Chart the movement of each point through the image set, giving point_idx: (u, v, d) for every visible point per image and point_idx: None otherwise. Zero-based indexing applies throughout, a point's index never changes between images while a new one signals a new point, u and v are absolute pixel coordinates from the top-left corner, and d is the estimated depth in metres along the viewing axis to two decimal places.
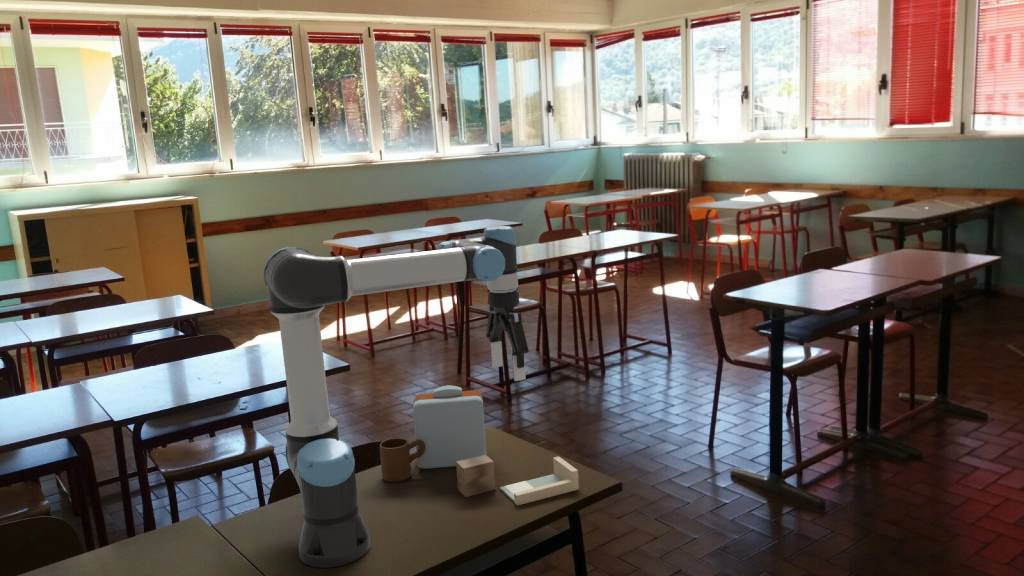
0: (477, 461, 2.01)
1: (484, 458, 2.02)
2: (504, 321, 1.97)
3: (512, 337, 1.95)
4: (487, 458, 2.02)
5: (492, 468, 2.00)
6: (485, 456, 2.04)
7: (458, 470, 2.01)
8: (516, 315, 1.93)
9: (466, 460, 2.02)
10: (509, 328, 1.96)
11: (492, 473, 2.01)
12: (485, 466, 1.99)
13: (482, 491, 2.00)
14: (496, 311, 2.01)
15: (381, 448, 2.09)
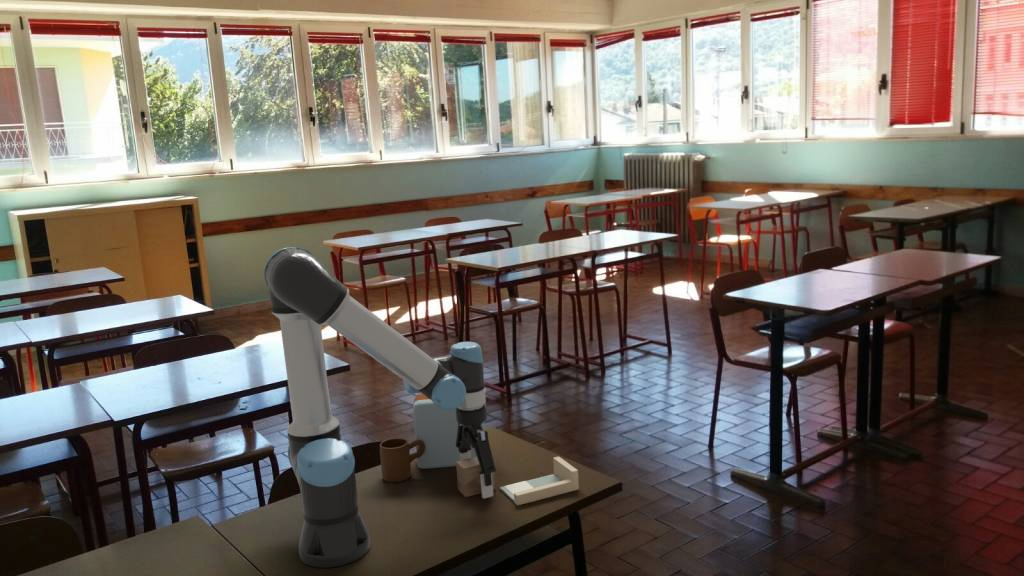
0: (477, 461, 2.01)
1: None
2: (471, 438, 1.96)
3: (479, 455, 1.95)
4: None
5: None
6: None
7: (458, 470, 2.01)
8: (483, 434, 1.93)
9: (466, 460, 2.02)
10: (476, 445, 1.96)
11: (492, 473, 2.01)
12: None
13: None
14: (464, 425, 2.01)
15: (381, 448, 2.09)
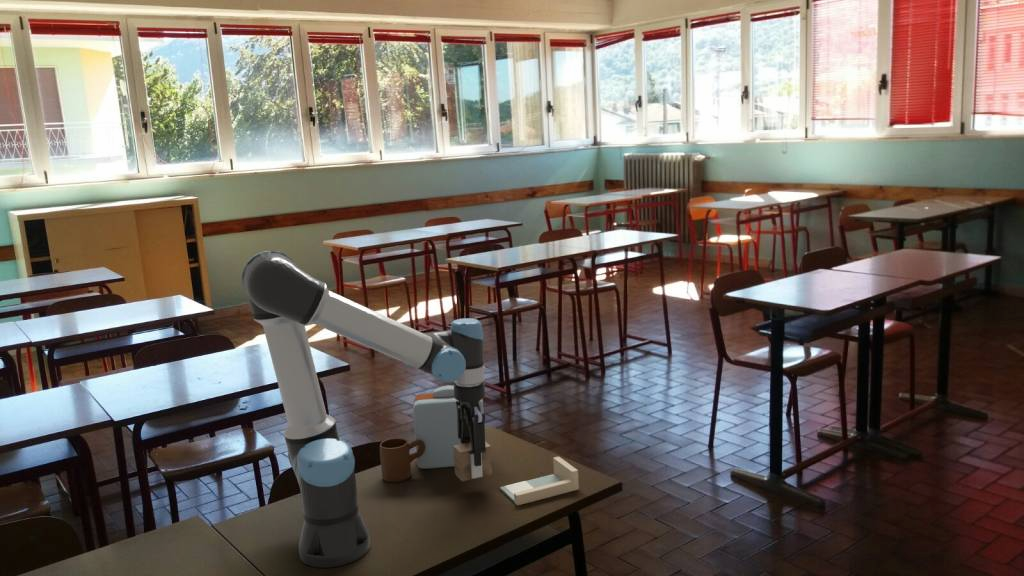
0: None
1: None
2: (468, 416, 1.96)
3: (473, 435, 1.96)
4: None
5: (489, 453, 1.99)
6: None
7: (455, 454, 2.00)
8: (480, 418, 1.92)
9: (463, 444, 2.01)
10: (471, 425, 1.96)
11: (489, 458, 2.00)
12: None
13: None
14: (461, 402, 2.00)
15: (381, 448, 2.09)
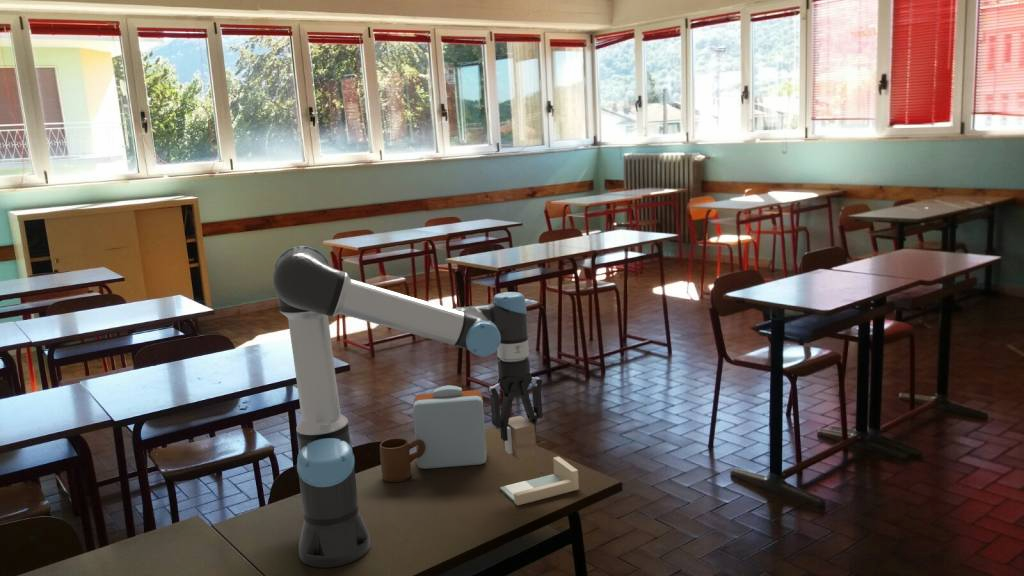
0: (517, 423, 1.95)
1: (523, 425, 1.93)
2: None
3: (502, 408, 1.95)
4: (523, 426, 1.93)
5: (515, 435, 1.92)
6: (529, 425, 1.93)
7: None
8: (490, 390, 1.91)
9: (521, 419, 1.98)
10: (504, 398, 1.94)
11: (515, 440, 1.92)
12: (511, 429, 1.93)
13: None
14: None
15: (381, 448, 2.09)
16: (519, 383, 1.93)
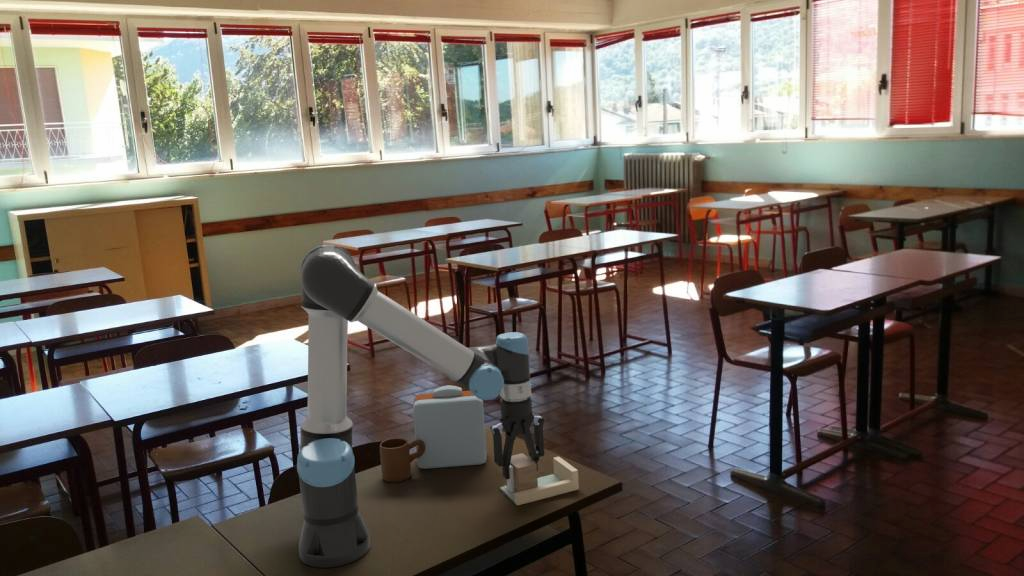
0: (520, 461, 1.97)
1: (526, 464, 1.95)
2: None
3: (504, 446, 1.96)
4: (526, 465, 1.95)
5: (517, 474, 1.94)
6: (531, 464, 1.95)
7: None
8: (492, 430, 1.93)
9: (523, 457, 2.00)
10: (506, 437, 1.96)
11: (517, 479, 1.94)
12: (514, 468, 1.95)
13: None
14: None
15: (381, 448, 2.09)
16: (521, 422, 1.95)
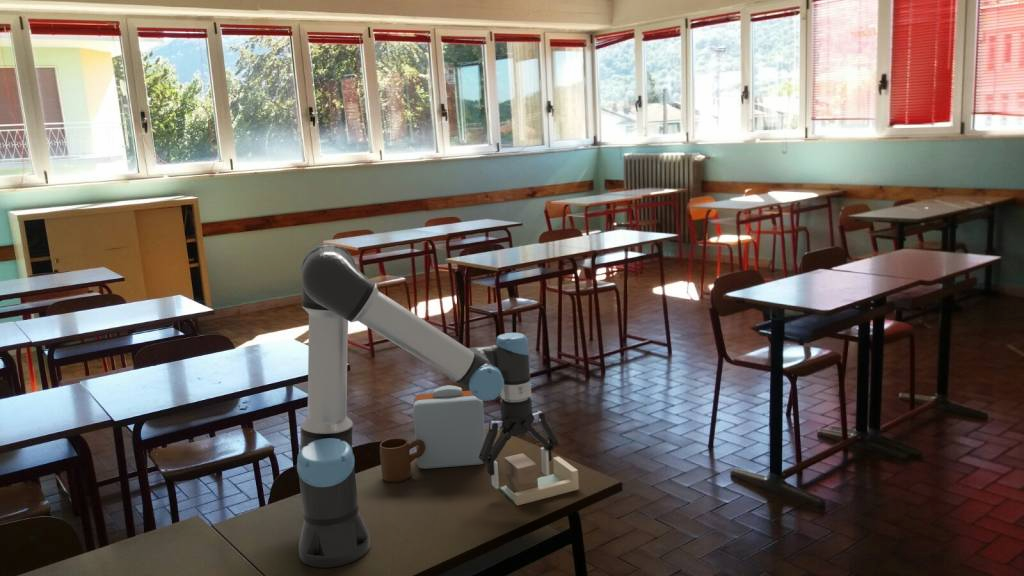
0: (520, 462, 1.97)
1: (526, 464, 1.95)
2: None
3: (495, 443, 1.95)
4: (526, 465, 1.94)
5: (517, 475, 1.94)
6: (531, 464, 1.95)
7: None
8: (491, 424, 1.93)
9: (523, 457, 2.00)
10: (501, 434, 1.95)
11: (517, 480, 1.94)
12: (514, 468, 1.95)
13: (513, 491, 1.97)
14: None
15: (381, 448, 2.09)
16: (522, 424, 1.95)
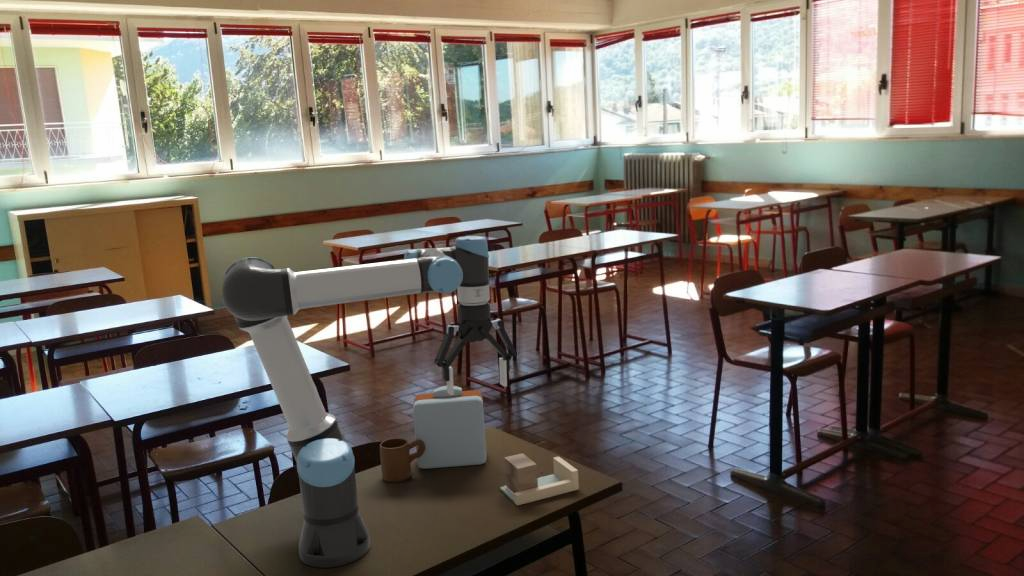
0: (520, 462, 1.97)
1: (526, 464, 1.95)
2: None
3: (451, 349, 1.91)
4: (526, 465, 1.94)
5: (517, 475, 1.94)
6: (531, 464, 1.95)
7: None
8: (447, 328, 1.89)
9: (523, 457, 2.00)
10: (457, 340, 1.91)
11: (517, 480, 1.94)
12: (514, 468, 1.95)
13: (513, 491, 1.97)
14: None
15: (381, 448, 2.09)
16: (479, 330, 1.91)
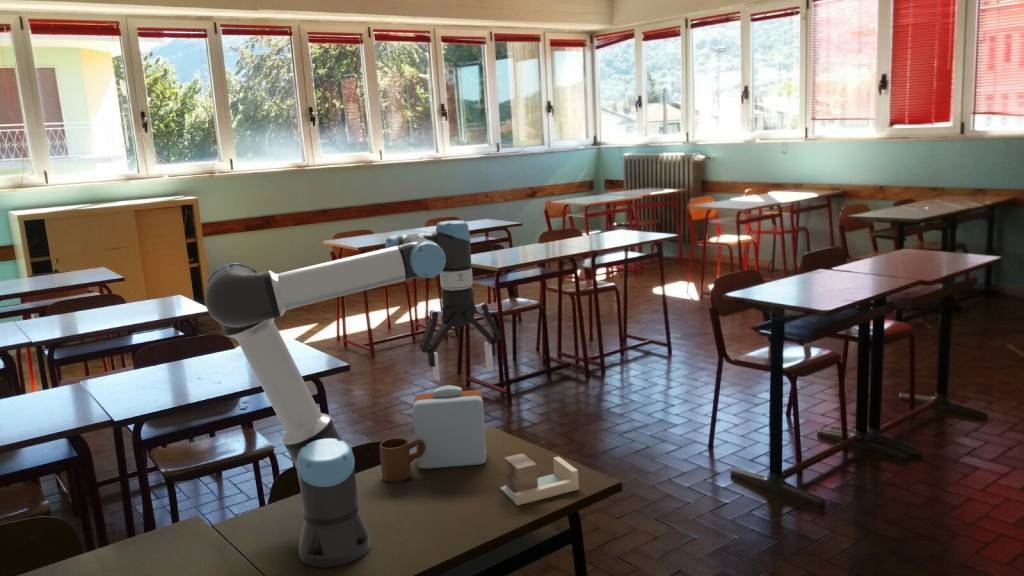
0: (520, 462, 1.97)
1: (526, 464, 1.95)
2: None
3: (436, 334, 1.90)
4: (526, 465, 1.94)
5: (517, 475, 1.94)
6: (531, 464, 1.95)
7: None
8: (431, 313, 1.88)
9: (523, 457, 2.00)
10: (442, 325, 1.91)
11: (517, 480, 1.94)
12: (514, 468, 1.95)
13: (513, 491, 1.97)
14: None
15: (381, 448, 2.09)
16: (463, 315, 1.90)
